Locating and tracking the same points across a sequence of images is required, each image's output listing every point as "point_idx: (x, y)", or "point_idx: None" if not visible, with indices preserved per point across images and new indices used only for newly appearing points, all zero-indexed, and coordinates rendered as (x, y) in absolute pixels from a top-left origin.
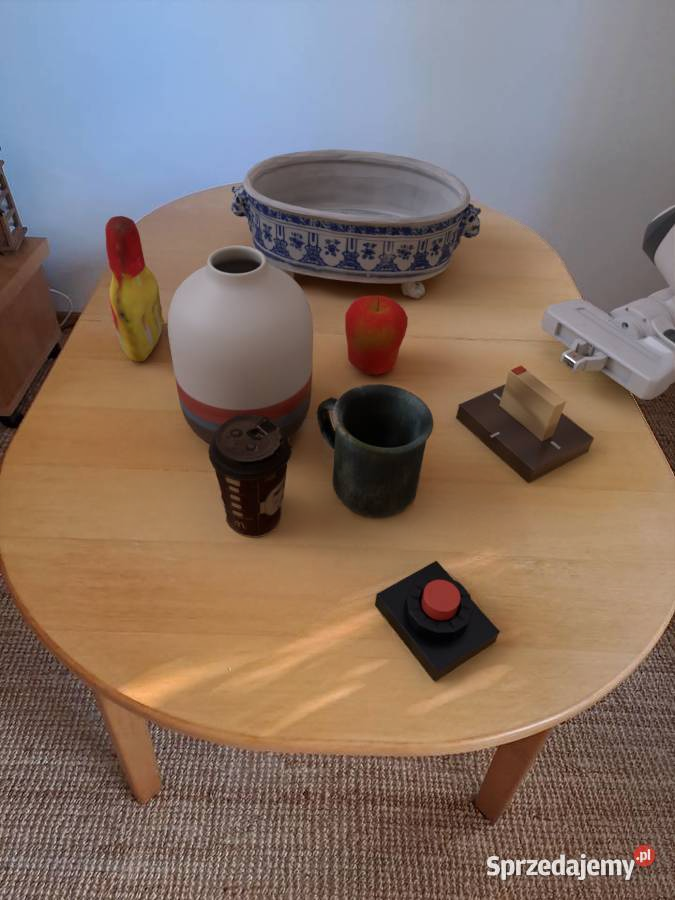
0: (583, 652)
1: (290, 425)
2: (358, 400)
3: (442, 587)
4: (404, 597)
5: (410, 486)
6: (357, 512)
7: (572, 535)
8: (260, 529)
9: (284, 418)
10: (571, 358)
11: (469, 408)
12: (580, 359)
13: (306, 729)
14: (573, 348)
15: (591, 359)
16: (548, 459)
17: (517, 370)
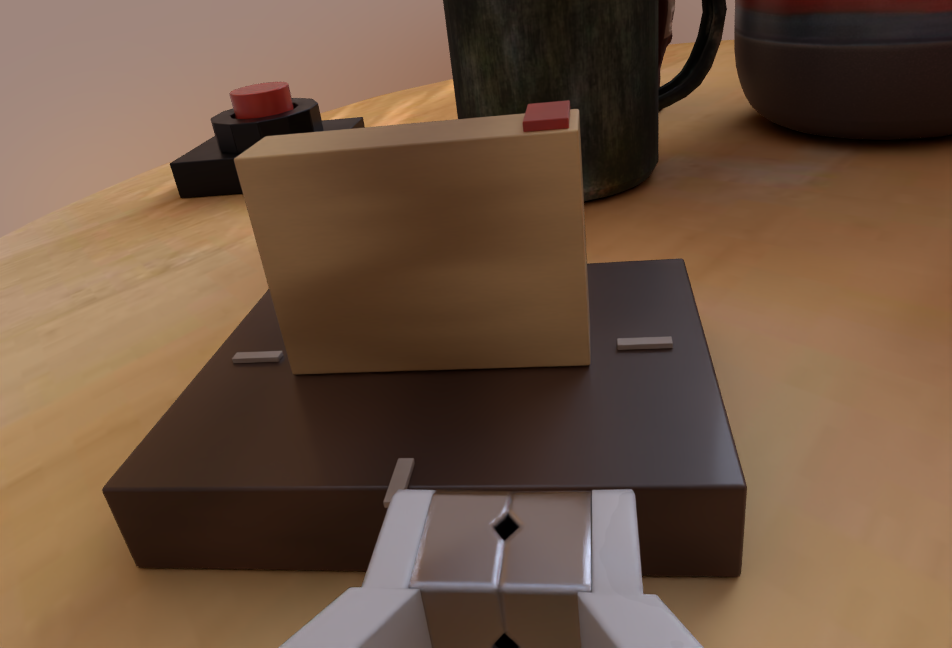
0: (27, 248)
1: (746, 50)
2: None
3: (265, 89)
4: (326, 127)
5: (456, 105)
6: None
7: (102, 333)
8: None
9: (740, 14)
10: (506, 495)
11: (641, 268)
12: (423, 539)
13: (325, 114)
14: (627, 611)
15: (317, 626)
16: (252, 319)
17: (545, 106)
